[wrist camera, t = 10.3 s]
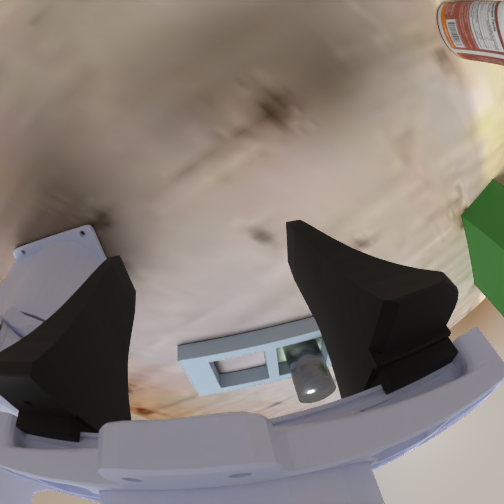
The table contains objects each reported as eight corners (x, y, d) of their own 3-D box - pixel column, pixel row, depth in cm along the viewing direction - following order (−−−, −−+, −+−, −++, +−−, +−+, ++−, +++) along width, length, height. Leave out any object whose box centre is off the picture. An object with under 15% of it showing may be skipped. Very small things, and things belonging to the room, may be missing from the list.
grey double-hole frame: (198, 383, 33) (199, 395, 31) (177, 345, 28) (177, 360, 27) (341, 349, 34) (347, 360, 33) (349, 306, 30) (356, 319, 28)
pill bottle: (477, 32, 13) (562, 47, 4) (465, 70, 16) (558, 96, 7) (441, -9, 11) (534, -10, 2) (428, 29, 14) (533, 37, 5)
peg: (281, 356, 32) (296, 406, 26) (283, 336, 30) (301, 389, 24) (313, 350, 33) (331, 397, 27) (317, 330, 31) (339, 379, 25)
